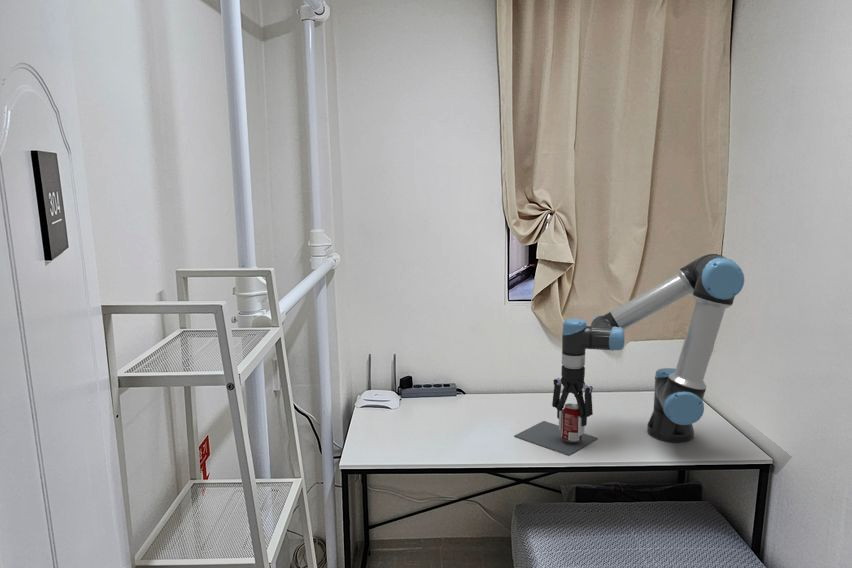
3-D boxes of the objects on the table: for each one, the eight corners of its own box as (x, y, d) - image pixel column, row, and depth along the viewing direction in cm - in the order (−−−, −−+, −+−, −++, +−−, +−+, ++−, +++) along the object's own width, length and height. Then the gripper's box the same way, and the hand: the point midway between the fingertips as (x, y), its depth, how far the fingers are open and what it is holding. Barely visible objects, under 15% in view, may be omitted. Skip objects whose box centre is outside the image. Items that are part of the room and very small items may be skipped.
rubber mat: (597, 438, 215) (597, 437, 215) (569, 456, 202) (569, 454, 202) (543, 421, 230) (543, 420, 230) (514, 436, 217) (514, 435, 217)
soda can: (581, 445, 208) (584, 410, 206) (560, 442, 209) (563, 407, 207) (580, 437, 214) (583, 403, 213) (560, 435, 216) (563, 401, 214)
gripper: (606, 369, 203) (603, 436, 207) (554, 357, 216) (552, 420, 221) (594, 374, 198) (591, 443, 202) (541, 362, 211) (540, 426, 215)
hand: (571, 431), depth 211 cm, fingers closed on soda can, 7 cm apart
